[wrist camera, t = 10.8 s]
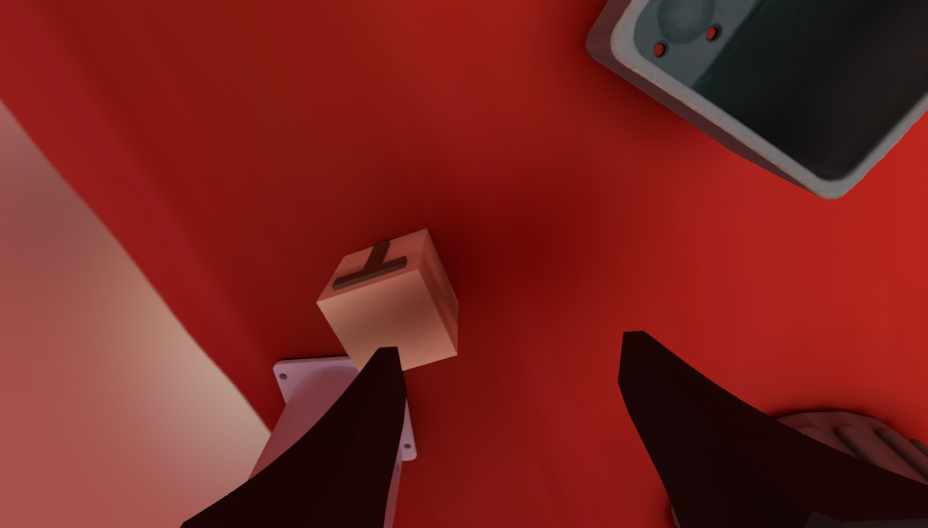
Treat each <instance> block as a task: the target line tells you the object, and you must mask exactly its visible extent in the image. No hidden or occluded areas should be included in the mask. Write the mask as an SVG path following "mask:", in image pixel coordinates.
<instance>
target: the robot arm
mask: <svg viewBox="0 0 928 528" xmlns="http://www.w3.org/2000/svg"><path fill="white" fill-rule="evenodd" d="M273 370H274V373H275V376H276V379H277V381H278V384H279V387H280V389H281V392H282V395H283V398H284V400H285V403H286V407H285V409H284V411H283V413H282V414H281V416H280V418H279V420H278V422H277V424H276V426H275V428H274V430H273V432H272V434H271V436H270V438H269V440H268V442H267V444H266V446H265V448H264V450H263V451H262V454H261V456H260V457H259V459H258V461H257V463H256V465H255V467H254V469H253V471H252V473H251V475H250V477H249V479H248V481H247V482H245V483H244V484H242V485H241V486H240V487H238V488H237V489H235V490H234V491H233V492H231V493H229V494H228V495H227V496H225V497H224V498H222V499H220V500H219V501H217V502H216V503H215V504H212V505H211V506H209V507H208V508H206V509H205V510H203V511H201V512H200V513H198V514H197V515H195V516H193V517H192V518H190V519H189V520H187V521H185V522H183V524H182V525H181V527H180V528H392V527H393V521H394V514H395V507H396V501H397V494H398V487H399V481H400V474H401V467H402V461H405V460H413V459H415V458H416V455H417V449H416V444H415V439H414V434H413V428H412V423H411V418H410V412H409V407H408V402H407V397H406V396H407V393H406V388H405V383H404V377H403V372H402V367H401V362H400V357H399V351H398V346H393V347H379V348H378V349H377V350H376V351H375V353H374V354H373V355H372V357H371V358H370V359H369V361H368V362H367V363H366V365H365V366H364V367H363V369H362V370H361V371H360V372H358V370H357V368H356V367H355V365H354V363H353V362H352V360H351V358H350V357H349V356H343V357H328V358H313V359H299V360H284V361H278V362H277V363H276V364H275V366H274V368H273ZM282 373H283V374H286V375H287V376H286V375H283V374H282ZM618 384H619V387H620V390H621V393H622V396H623V399H624V402H625V405H626V407H627V410H628V413H629V415H630V417H631V419H632V421H633V423H634V425H635V427H636V429H637V431H638V433H639V435H640V437H641V439H642V441H643V443H644V445H645V447H646V449H647V451H648V453H649V456H650V458H651V460H652V462H653V464H654V466H655V468H656V470H657V472H658V474H659V476H660V478H661V480H662V482H663V484H664V487H665V489H666V491H667V493H668V496H669V499H670V501H671V504H672V507H673V509H674V512H675V514H676V517H677V520H678V522H679V525H680V528H928V485H927V484H924V483H921V482H919V481H916V480H913V479H911V478H908V477H905V476H903V475H900V474H897V473H894V472H892V471H889V470H886V469H884V468H881V467H878V466H876V465H873V464H871V463H868V462H866V461H863V460H861V459H859V458H856V457H854V456H851V455H849V454H847V453H844V452H842V451H840V450H837V449H835V448H833V447H831V446H828V445H826V444H824V443H822V442H820V441H817V440H815V439H813V438H811V437H809V436H807V435H805V434H803V433H801V432H799V431H797V430H795V429H793V428H791V427H789V426H787V425H785V424H783V423H781V422H779V421H777V420H775V419H773V418H771V417H770V416H768V415H766V414H764V413H763V412H761V411H759V410H757V409H756V408H754V407H752V406H750V405H749V404H747V403H745V402H743V401H742V400H740V399H739V398H737V397H735V396H734V395H732V394H731V393H729V392H727V391H726V390H724V389H723V388H721V387H720V386H718V385H717V384H715V383H714V382H712V381H711V380H709V379H708V378H706V377H705V376H704V375H702V374H701V373H699V372H698V371H697V370H695V369H694V368H692V367H691V366H690V365H688V364H687V363H686V362H684V361H683V360H682V359H680V358H679V357H678V356H676V355H675V354H674V353H672V352H671V351H670V350H668V349H667V348H666V347H664V346H663V345H662V344H660V343H659V342H658V341H657V340H655V339H654V338H653V337H651V336H650V335H649V334H647V333H646V332H644V331H632V332H624V334H623V342H622V351H621V359H620V367H619V376H618Z"/></svg>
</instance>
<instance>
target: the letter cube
mask: <svg viewBox="0 0 928 528" xmlns="http://www.w3.org/2000/svg"><path fill="white" fill-rule="evenodd" d="M317 304H318V306H319V307H320V309H321V311H322V312H323V314H324V316H325V317H326V319H327V321H328V322H329V324H330V326H331V327H332V329H333V330H334V332H335V334H336V335H337V337H338V339H339V340H340V342H341V344H342V345H343V347H344V349H345V350H346V352H347V354H348V355H349V357H350V358H351V360H352V362H353V363H354V365H355V367H356V368H357V370H358V372H360V371H361V370H362V369H363V367H364V366H365V365H366V363H367V362H368V361H369V359H370V358H371V357H372V355H373V354H374V353H375V351H376V350H377V349H378V348H379V347H393V346H398V351H399V357H400V362H401V367H402V371H403V370H407V369H410V368H414V367H417V366H421V365H424V364H428V363H431V362H435V361H438V360H442V359H445V358H449V357H452V356H456V355H457V348H458V300H457V298H456V296H455V293H454V291H453V289H452V286H451V284H450V282H449V279H448V277H447V274H446V272H445V270H444V267H443V265H442V263H441V260H440V258H439V256H438V253H437V251H436V249H435V246H434V244H433V241H432V239H431V237H430V234H429V232H428V230H427V228H426V229H423V230H420V231H417V232H414V233H411V234H408V235H405V236H402V237H399V238H396V239H393V240H390V241H388V240H386V241H383V242H380V243H377V244H375V245H374V246H373V247H370V248H367V249H364V250H361V251H358V252H355V253H352V254H349V255H346V256H344V258H343V259H342V261H341V263H340V264H339V266H338V267H337V269H336V271H335V272H334V274H333V276H332V277H331V279H330V281H329V282H328V284H327V286H326V287H325V289H324V291H323V292H322V294H321V295H320V297H319V299H318V300H317Z"/></svg>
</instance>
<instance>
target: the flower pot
mask: <svg viewBox="0 0 928 528" xmlns="http://www.w3.org/2000/svg"><path fill="white" fill-rule="evenodd" d="M711 27H716V28H717V30H718V33H717V36H716V37H715V38H714V39H713V40H708V38H707V35H706V34H707V31H708V29H709V28H711ZM659 43H663V44H664V45H665V52H664V54H663V55H661V56H659V57H658V56H655V54H654V48H655V46H656V45H657V44H659ZM585 48H586V51H587V53H588V54H589V55H590V56H591V57H592V58H593V59H594V60H596V61H597V62H599V63H600V64H602V65H603V66H605V67H606V68H608V69H609V70H611V71H612V72H614V73H616V74H617V75H619V76H620V77H622V78H623V79H625V80H626V81H628V82H629V83H631V84H632V85H634V86H635V87H637V88H638V89H640V90H641V91H643V92H644V93H645V94H647V95H648V96H650V97H651V98H653V99H654V100H656V101H657V102H659V103H660V104H662V105H663V106H665V107H666V108H668V109H669V110H671V111H672V112H674V113H675V114H677V115H678V116H680V117H681V118H683V119H684V120H686V121H687V122H689V123H690V124H692V125H693V126H695V127H696V128H698V129H699V130H701V131H702V132H704V133H705V134H707V135H708V136H710V137H711V138H713V139H714V140H716V141H717V142H719V143H720V144H722V145H723V146H724V147H726V148H727V149H729V150H731V151H732V152H734V153H736V154H738V155H739V156H741V157H743V158H745V159H747V160H749V161H751V162H753V163H755V164H757V165H759V166H761V167H762V168H764V169H766V170H768V171H770V172H772V173H774V174H776V175H778V176H780V177H781V178H783V179H785V180H787V181H789V182H791V183H793V184H795V185H797V186H799V187H801V188H803V189H805V190H807V191H809V192H811V193H813V194H815V195H817V196H819V197H821V198H824V199H838V198H840V197H842V196H843V195H844V194H846V193H847V192H848V191H849V190H850V189H851V188H852V187H853V186H854V185H856V184H857V183H858V182H859V181H860V180H861V179H863V177H864V176H865V175H866V174H867V172H868V171H869V170H870V169H871V168H872V167H874V166H875V164H876V163H877V162H878V161H880V160H881V159H882V158H883V157H884V156H885V155H886V153H887V152H888V151H889V150H890V149H891V148H892V147H893V146H894V145H895V144H896V143H897V142H898V141H899V140H900V139H901V138H902V137H903V135H904V134H905V133H906V132H907V131H908V130H909V129H910V127H911V126H912V125H913V124H914V123H915V122H916V121H918V120H919V119H920V117H921V116H922V115H923V114H924V113H925V112H926V111H927V110H928V0H608V2H607V3H606V5H605V7H604V8H603V10H602V12H601V13H600V15H599V16H598V18H597V20H596V21H595V23H594V25H593V26H592V28H591V30H590V31H589V33H588V35H587V37H586V40H585Z"/></svg>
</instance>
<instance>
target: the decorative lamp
mask: <svg viewBox="0 0 928 528" xmlns="http://www.w3.org/2000/svg"><path fill="white" fill-rule="evenodd" d="M775 420H777V421H779V422H781V423H783V424H785V425H787V426H789V427H791V428H793V429H795V430H797V431H799V432H801V433H803V434H805V435H807V436H809V437H811V438H813V439H815V440H817V441H820V442H822V443H824V444H826V445H828V446H831V447H833V448H835V449H837V450H840V451H842V452H844V453H847V454H849V455H851V456H854V457H856V458H859V459H861V460H863V461H866V462H868V463H871V464H873V465H876V466H878V467H881V468H884V469H886V470H889V471H892V472H894V473H897V474H900V475H903V476H905V477H908V478H911V479H913V480H916V481H919V482H921V483H924V484H927V485H928V447H927V446H926V445H925V444H923V443H922V442H920V441H918V440H916V439H911V440H906V439H905V438H904V437H903V436H901V435H900V434H899V433H897V432H896V431H894V430H893V429H891V428H890V427H889V426H887V425H886V424H884V423H883V422H881V421H880V420H878V419H875V418H870V417H866V416H862V415H857V414H853V413H848V412H840V411H833V412H805V413H795V414H791V415H787V416H783V417H779V418H775ZM671 511H672V515H673V519H674V524H675V527H674V528H680V525H679V522H678V520H677V517H676V514H675V512H674V509H673V507H672V506H671Z"/></svg>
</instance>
